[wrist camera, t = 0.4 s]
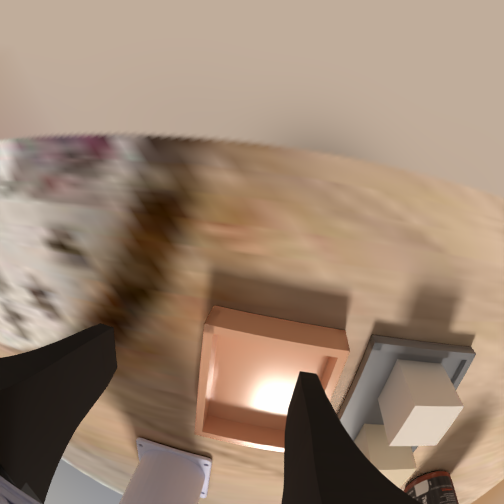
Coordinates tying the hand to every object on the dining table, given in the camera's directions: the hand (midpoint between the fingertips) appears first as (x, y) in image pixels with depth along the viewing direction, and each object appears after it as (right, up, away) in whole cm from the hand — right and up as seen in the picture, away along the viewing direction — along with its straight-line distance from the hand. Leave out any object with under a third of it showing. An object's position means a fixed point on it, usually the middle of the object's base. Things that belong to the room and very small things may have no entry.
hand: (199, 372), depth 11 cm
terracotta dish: (+3, -5, +12) cm, 13 cm away
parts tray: (+13, -9, +11) cm, 20 cm away
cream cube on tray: (+14, -5, +10) cm, 18 cm away
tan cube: (+13, -12, +12) cm, 21 cm away
